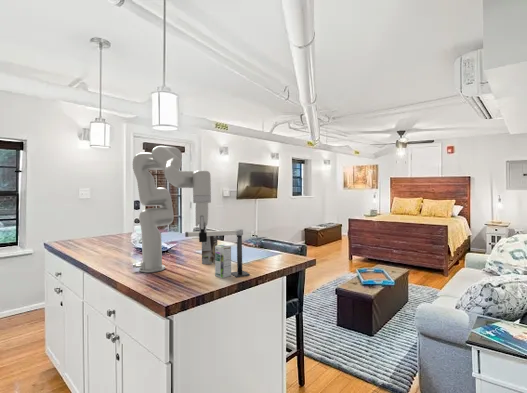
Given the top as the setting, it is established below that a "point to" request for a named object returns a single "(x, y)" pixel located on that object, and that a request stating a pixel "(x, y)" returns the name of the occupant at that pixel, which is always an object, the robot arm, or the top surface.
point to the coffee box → (209, 250)
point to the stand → (239, 260)
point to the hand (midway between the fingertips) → (203, 241)
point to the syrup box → (222, 261)
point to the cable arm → (216, 233)
